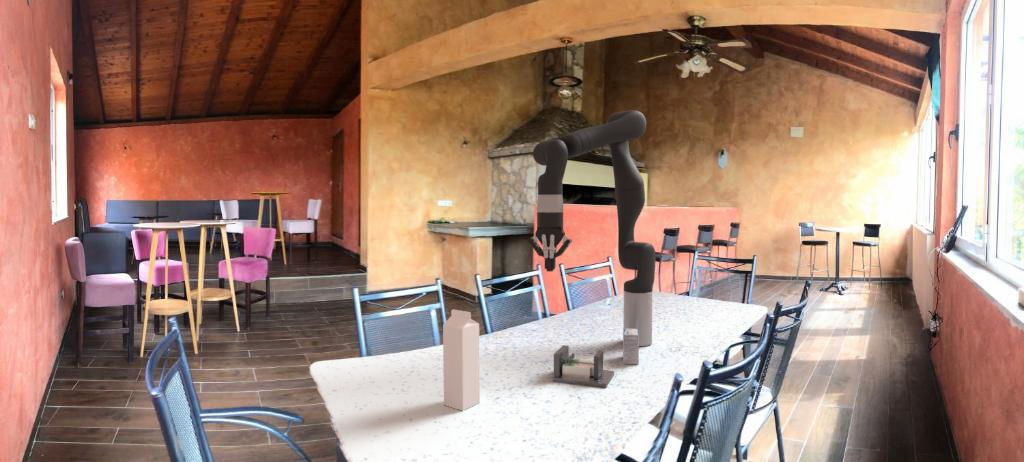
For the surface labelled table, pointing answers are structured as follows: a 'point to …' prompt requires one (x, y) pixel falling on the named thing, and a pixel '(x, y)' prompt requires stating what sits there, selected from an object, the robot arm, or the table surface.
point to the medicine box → (630, 346)
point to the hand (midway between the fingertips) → (549, 271)
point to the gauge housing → (577, 371)
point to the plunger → (596, 368)
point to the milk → (461, 361)
